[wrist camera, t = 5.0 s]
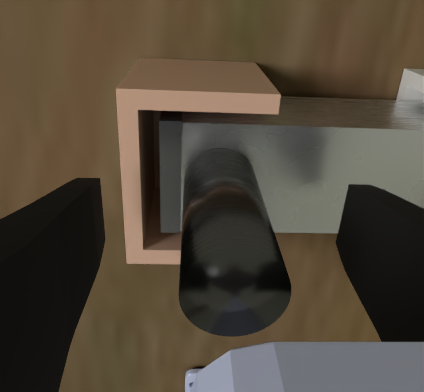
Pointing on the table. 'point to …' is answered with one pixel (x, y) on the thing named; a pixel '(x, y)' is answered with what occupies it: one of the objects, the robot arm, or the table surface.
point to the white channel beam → (411, 85)
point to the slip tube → (272, 193)
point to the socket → (149, 134)
